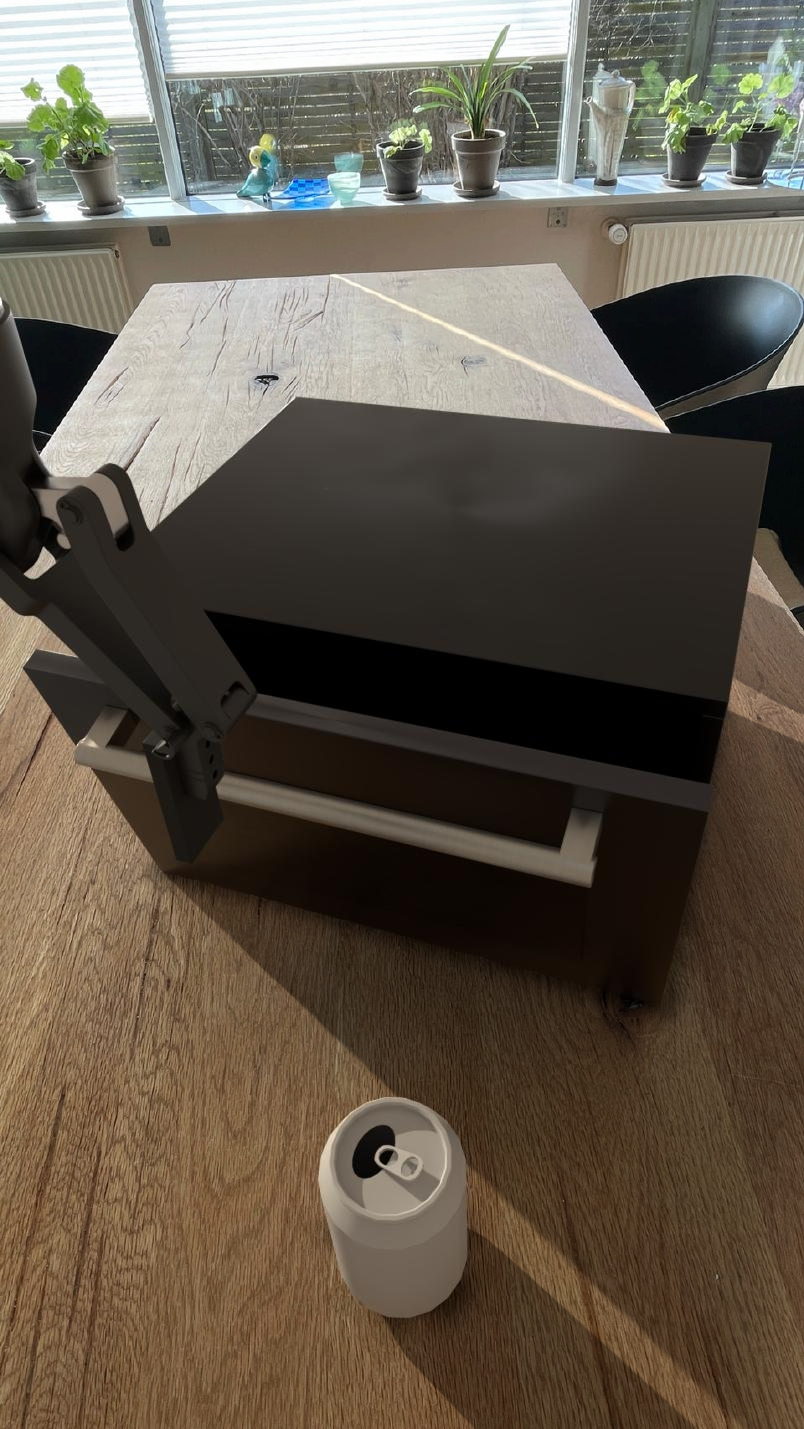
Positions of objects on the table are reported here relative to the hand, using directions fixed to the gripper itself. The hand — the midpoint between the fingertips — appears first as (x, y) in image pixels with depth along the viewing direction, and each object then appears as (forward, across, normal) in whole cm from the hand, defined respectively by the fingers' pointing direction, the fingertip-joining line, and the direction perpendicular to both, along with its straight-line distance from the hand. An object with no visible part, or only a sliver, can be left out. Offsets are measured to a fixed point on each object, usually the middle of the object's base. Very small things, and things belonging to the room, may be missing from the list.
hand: (67, 804), depth 42 cm
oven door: (+29, -7, -17) cm, 34 cm away
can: (+29, -16, +3) cm, 33 cm away
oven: (+28, -7, -36) cm, 46 cm away
